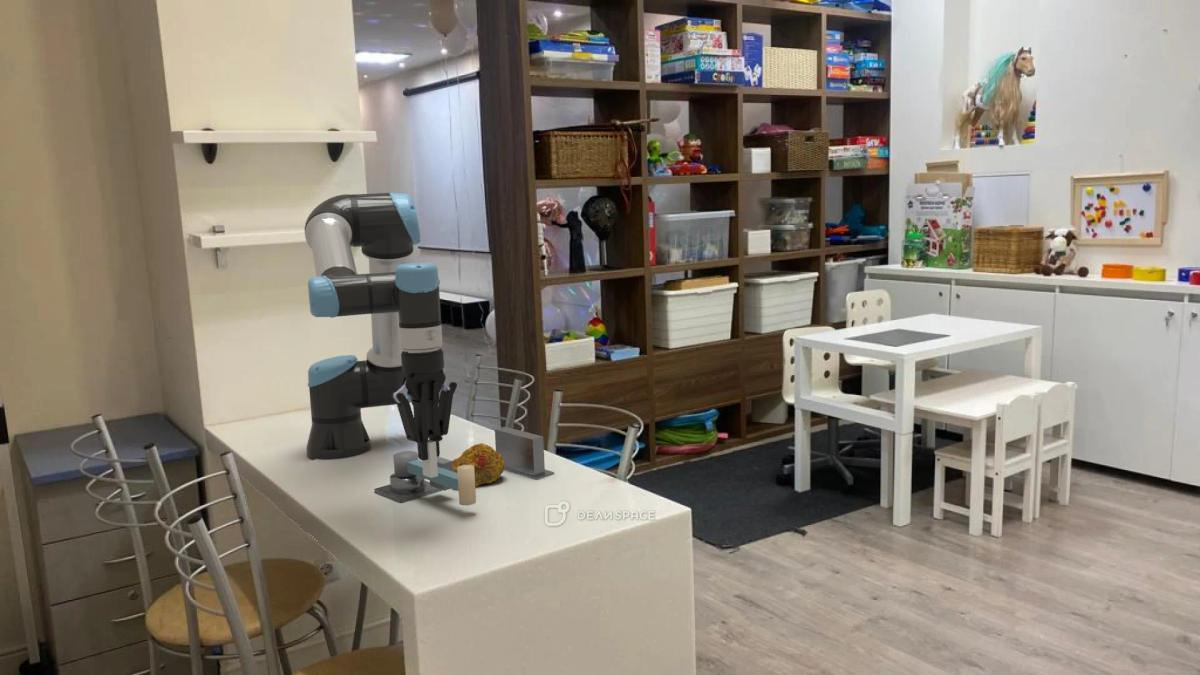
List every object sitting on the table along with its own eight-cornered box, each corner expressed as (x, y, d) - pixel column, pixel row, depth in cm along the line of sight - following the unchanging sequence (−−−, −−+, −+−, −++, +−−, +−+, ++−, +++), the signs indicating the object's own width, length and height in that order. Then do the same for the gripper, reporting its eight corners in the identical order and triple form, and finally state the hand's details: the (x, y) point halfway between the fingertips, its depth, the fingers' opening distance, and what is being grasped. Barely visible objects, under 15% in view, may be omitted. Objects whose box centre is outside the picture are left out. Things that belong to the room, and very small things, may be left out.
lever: (390, 480, 185) (388, 448, 184) (415, 473, 189) (413, 441, 188) (462, 508, 167) (459, 472, 166) (487, 499, 171) (485, 464, 170)
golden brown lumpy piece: (483, 506, 185) (444, 480, 183) (477, 501, 193) (439, 475, 191) (513, 462, 187) (475, 435, 185) (506, 458, 195) (469, 432, 193)
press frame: (374, 492, 185) (371, 450, 184) (494, 457, 207) (492, 420, 206) (431, 516, 170) (428, 471, 169) (554, 475, 192) (552, 435, 191)
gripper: (402, 356, 152) (411, 488, 156) (463, 346, 161) (471, 471, 165) (379, 352, 157) (388, 480, 161) (440, 342, 166) (447, 463, 170)
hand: (430, 475), depth 163 cm, fingers closed
